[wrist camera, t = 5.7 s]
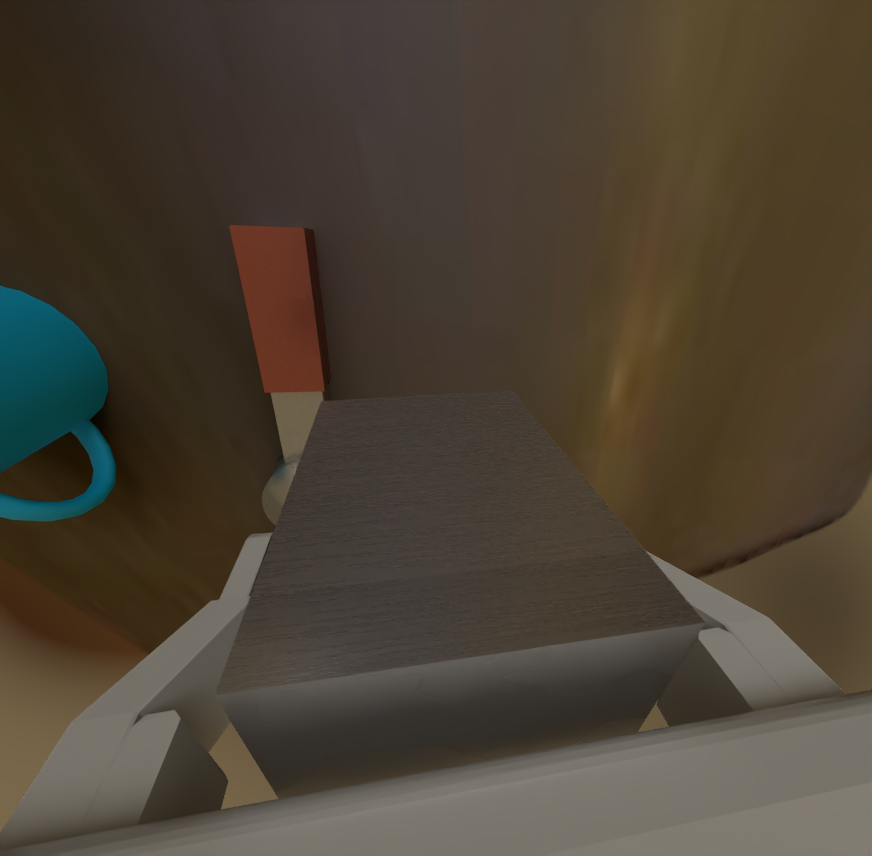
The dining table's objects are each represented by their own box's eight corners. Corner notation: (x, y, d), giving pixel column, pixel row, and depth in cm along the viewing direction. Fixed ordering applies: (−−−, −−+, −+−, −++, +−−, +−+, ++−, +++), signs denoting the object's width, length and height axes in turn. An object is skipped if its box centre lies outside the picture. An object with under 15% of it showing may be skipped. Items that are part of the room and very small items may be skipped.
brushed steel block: (321, 401, 9) (214, 694, 3) (511, 390, 9) (705, 622, 4) (346, 542, 11) (310, 850, 6) (496, 526, 12) (600, 791, 6)
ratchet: (218, 226, 18) (138, 217, 12) (341, 230, 18) (321, 224, 13) (283, 511, 26) (254, 586, 20) (364, 506, 27) (359, 576, 21)
